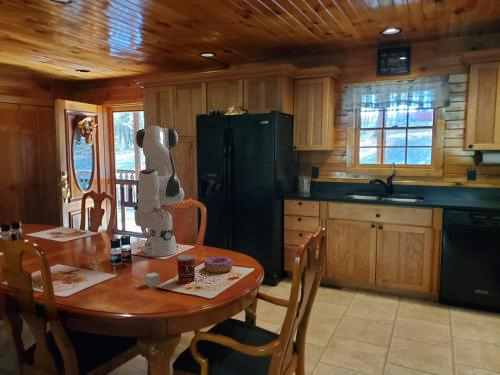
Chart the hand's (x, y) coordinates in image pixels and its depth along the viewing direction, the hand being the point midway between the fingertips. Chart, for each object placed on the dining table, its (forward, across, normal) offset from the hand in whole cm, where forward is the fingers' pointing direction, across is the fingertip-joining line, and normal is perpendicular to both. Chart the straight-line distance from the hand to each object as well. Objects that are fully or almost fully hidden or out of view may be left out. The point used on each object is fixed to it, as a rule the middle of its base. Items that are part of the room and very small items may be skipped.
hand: (151, 238), depth 164 cm
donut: (+21, -4, -34) cm, 41 cm away
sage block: (+21, +2, -1) cm, 21 cm away
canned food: (+22, -5, -14) cm, 26 cm away
